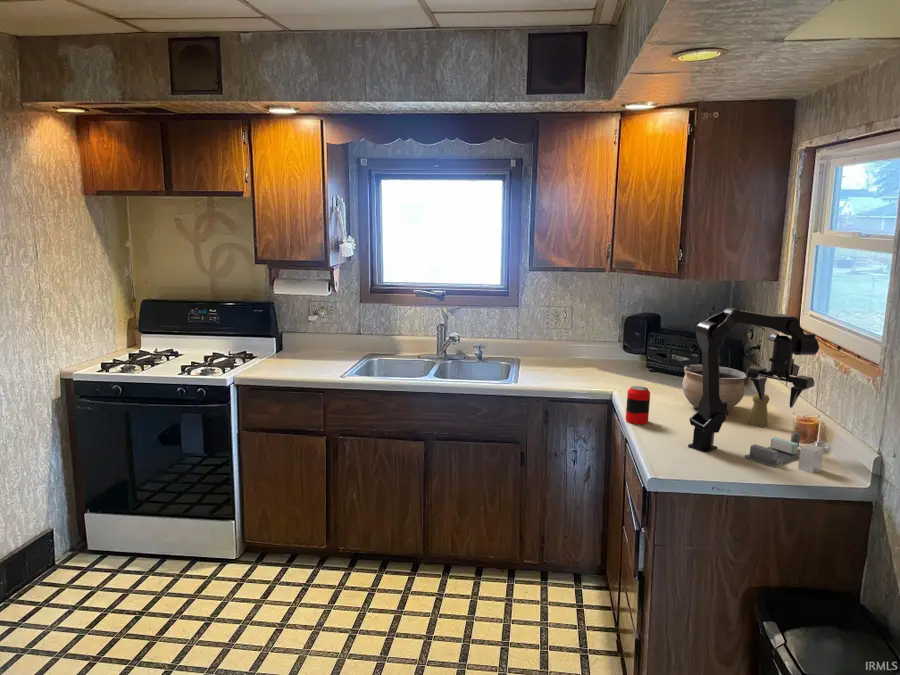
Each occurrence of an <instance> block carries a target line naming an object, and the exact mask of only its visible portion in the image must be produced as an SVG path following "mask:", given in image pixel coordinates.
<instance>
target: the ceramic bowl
mask: <svg viewBox="0 0 900 675" xmlns="http://www.w3.org/2000/svg"><path fill="white" fill-rule="evenodd" d="M683 371H684V376H683V380H682V392H683V394H684V396H685V398H686V400H688V402H689V403H690V404H691V406H692V407H694V408H695V409H697V410H698V406H699V402H700V400H701V398H702V396H703V376H702V364H689V366H684V367H683ZM746 374H747V373H745V372H743V371H741V370H738V369H734V368H732V367H731V368H730V367H725V366H719V392H720V399H721V400H722V401H724V402H726V403H727V411H729V410H731V409H733V407H735V406H737V405H738V404H739V403H740V402H741V400H742V399H743V398H744V395H745V393H746V392H745V391H746V390H745V381H746V380H747V378H748V377H747V376H746Z"/></svg>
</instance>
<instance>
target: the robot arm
mask: <svg viewBox="0 0 900 675" xmlns="http://www.w3.org/2000/svg"><path fill="white" fill-rule="evenodd" d="M737 323H739V324H746V325H750V326H758V327H761V328H762V327H764V328H767V329H769V330H771V331H774V332H773V333H772V334H771V335H769V336H768V337H767V338H766V339H767V341H771V342H773V343H772V350H771V351H772V353H771V357H769V362H770V368H769V370H768V369H767V368H766V367H760V366H751V367H748V368H747V370H746V373H745V374H746V376H747V377H746V378H749V381H752V383H753V385H754V387H755V389H756V391H757V393H758V395H759V397H760V400H761V401H763V400H764V394H765V391H766V390H765V389H766V382H767V380H768V379H773V380H776V381H777V380H778V381H782V382H786V383H792V385H793V386H791V388H790V395H789V396H790V397H789V408H790V409H791V408H793V407H794V405H795V404H796V402H797V400H798V398H799V397H800V395H801V394H802V392H803V391H805V390H808V389H810V388H812V387H814V386H815V379H814V378H813V377H811V376H807V375H803V374H802V375H798V374H799V371H800V369H801V368H800V366H799V365H797V364H795V359H794V358H793V355H795V356H815V355H816V354H818V352H819V349H820V345H819V341H818V339H817V338H816V333H812V332H808V333H805V332H804V330H803V329H802V327H801V323H800V320H799V318H798V317H797V316H793V315H787V314H784V313H771V314H763V313H758V312H752V311H746V310H741V309H737V308H734V307H728V308H725V309H723V310H722V311H721V312H719V313H716V314H714V315H712V316H710V317H709V318H707V319H705V320H702V321H700V322H699V323H698V324H697V325H696V327H695V336H696V341H697V343H698V346H699V348H700V349H701V365H702V376H703V396H702V398H701V400H700V402H699V406H698V409H697V411H696V412H695V413H693V415H691V416H690V418H689V424H690V425H691V426H693V427H694V428H693V435H692V443H689V444H687V447H689V448H691V449H695V450H698V451H701V452H704V453H708V452H711V451H714V450H716V449H718V446H717V445H714V442H715V441H714V439H715V433H719V432H720V430H721V428H722V425H723V424H724V423H725V422H726V419H727V417H728V416H729V414H728V410H727V403H726V402H724V401H722V400H721V399H720V392H719V367H720V350H721V348H722V346H723V344H724V339H725V336H726V335H727V334H728V333H730V332H731V331H732V330H733V328H734V327H735V326H736V324H737ZM779 333H781V334H783V335H779Z"/></svg>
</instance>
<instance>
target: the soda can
mask: <svg viewBox="0 0 900 675" xmlns="http://www.w3.org/2000/svg"><path fill="white" fill-rule="evenodd" d="M626 394H627V395H626V409H625V420H626V422H627V423H629V424H632V425H646V424H647V423H648V422H649V417H650V416H649V413H650V400H651V392H650V390H649V389H648V388H647V387H646V386H642V385H641V386H640V385H632V386H630V388H628V390H627V393H626Z"/></svg>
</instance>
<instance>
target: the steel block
mask: <svg viewBox="0 0 900 675" xmlns="http://www.w3.org/2000/svg"><path fill="white" fill-rule="evenodd" d="M799 451H800V452H799V454H800V457H799V458H798V469H799V470H801V471H804V472H807V473H811V474H814V473H817V472H818V471H820V470H821V469H822V462H823V454H824V447H822V446H818V445H814V444H810V443H808V444H806V445H803V446H801V447H800V450H799Z"/></svg>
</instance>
